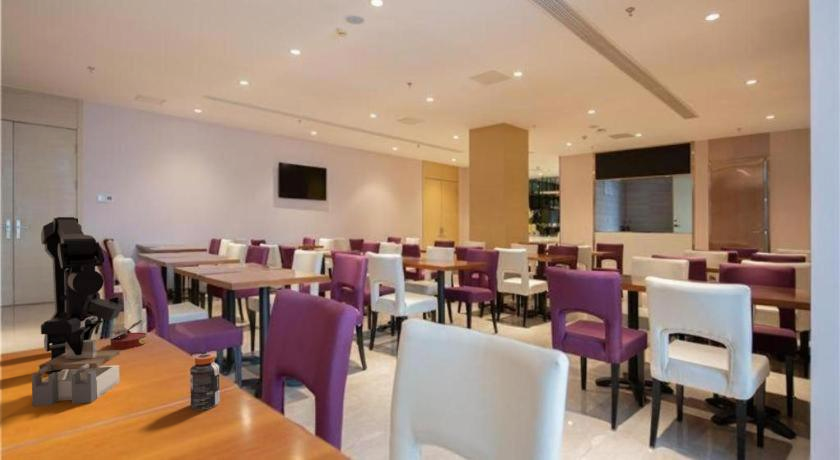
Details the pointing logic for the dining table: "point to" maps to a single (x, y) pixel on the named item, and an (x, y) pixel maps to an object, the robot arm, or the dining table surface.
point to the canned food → (128, 339)
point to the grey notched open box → (74, 385)
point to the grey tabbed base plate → (79, 358)
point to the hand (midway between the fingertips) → (81, 353)
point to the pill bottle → (204, 382)
